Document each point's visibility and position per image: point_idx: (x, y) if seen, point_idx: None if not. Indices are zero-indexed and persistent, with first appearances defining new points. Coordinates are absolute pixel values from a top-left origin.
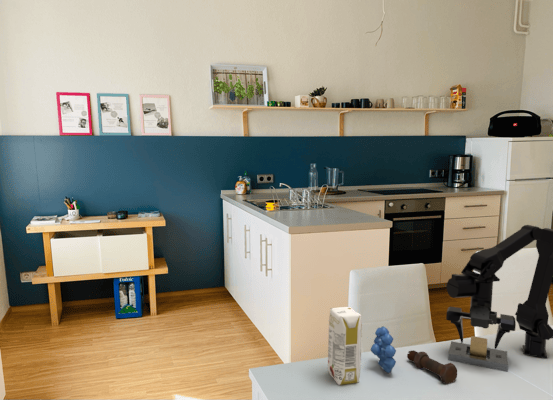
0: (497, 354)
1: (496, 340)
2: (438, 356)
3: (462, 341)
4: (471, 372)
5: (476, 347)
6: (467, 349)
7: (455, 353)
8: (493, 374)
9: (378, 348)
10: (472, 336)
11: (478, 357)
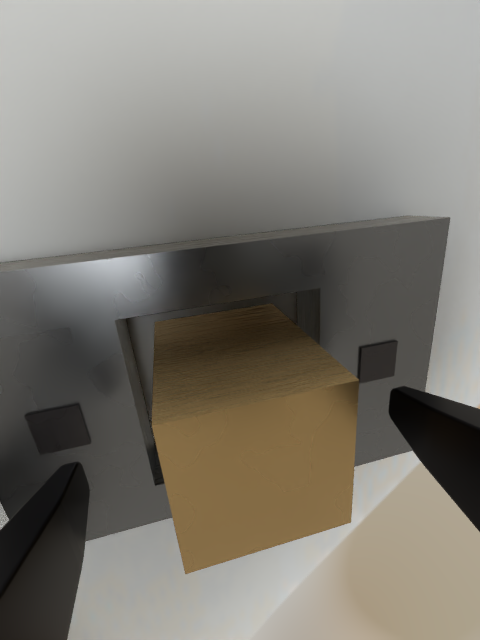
0: (79, 455)
1: (6, 569)
2: (463, 237)
3: (406, 392)
4: (229, 53)
5: (264, 362)
6: None
7: (399, 253)
8: (39, 124)
9: None
10: (338, 520)
11: (215, 291)
